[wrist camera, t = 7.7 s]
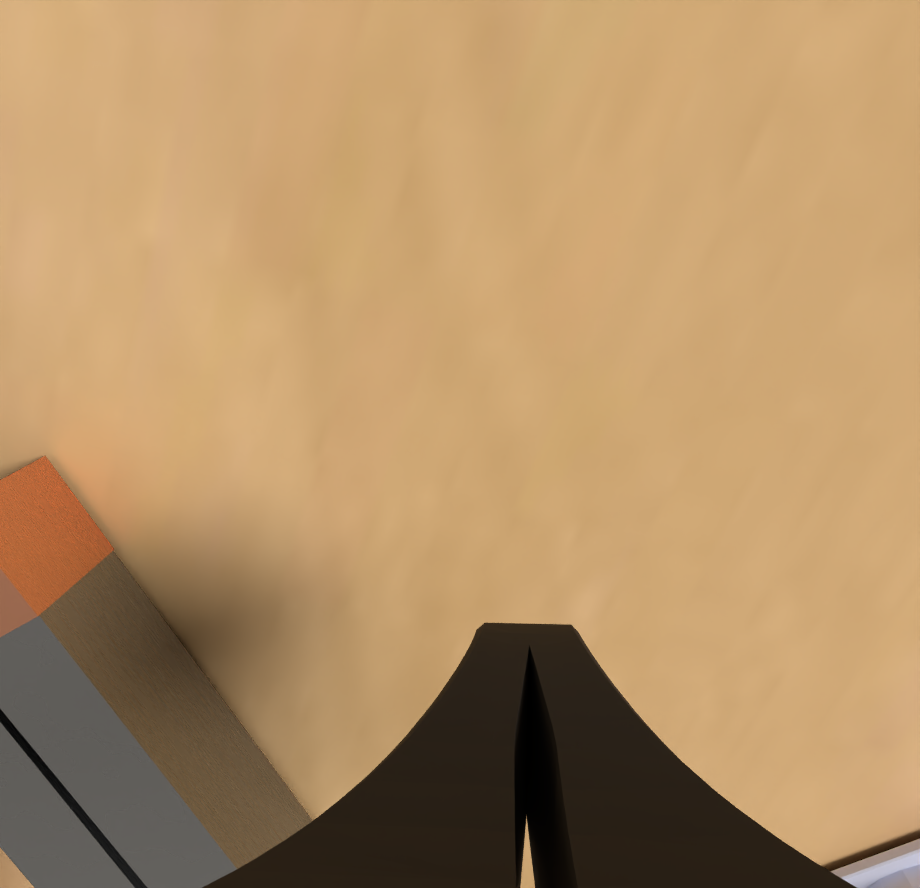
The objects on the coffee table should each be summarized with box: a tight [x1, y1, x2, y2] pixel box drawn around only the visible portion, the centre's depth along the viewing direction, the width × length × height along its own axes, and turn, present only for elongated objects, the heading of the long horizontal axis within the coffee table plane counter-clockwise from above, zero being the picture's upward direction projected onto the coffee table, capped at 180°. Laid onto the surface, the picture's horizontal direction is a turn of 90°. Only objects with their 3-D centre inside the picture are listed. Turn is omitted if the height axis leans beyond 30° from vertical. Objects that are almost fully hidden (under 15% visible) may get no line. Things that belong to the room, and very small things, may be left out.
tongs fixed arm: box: [0, 709, 147, 888], centre depth 22 cm, size 18×2×4 cm, turn 29°
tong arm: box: [0, 456, 312, 888], centre depth 22 cm, size 21×4×4 cm, turn 30°
